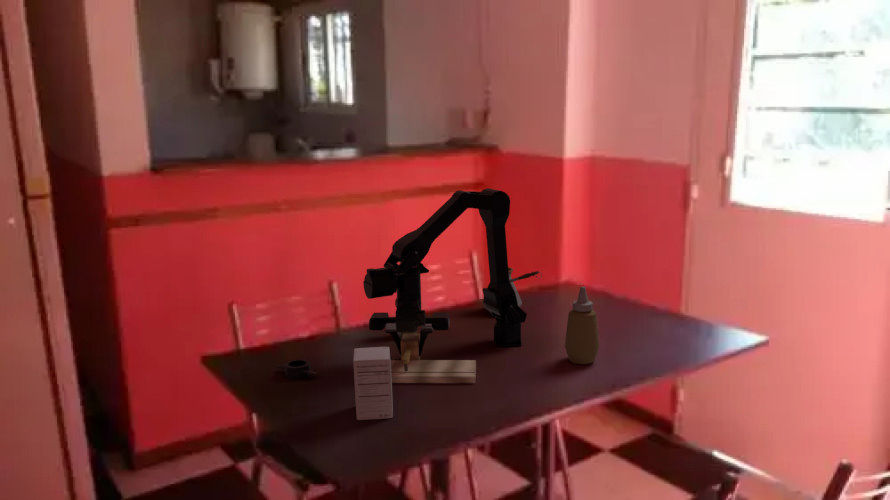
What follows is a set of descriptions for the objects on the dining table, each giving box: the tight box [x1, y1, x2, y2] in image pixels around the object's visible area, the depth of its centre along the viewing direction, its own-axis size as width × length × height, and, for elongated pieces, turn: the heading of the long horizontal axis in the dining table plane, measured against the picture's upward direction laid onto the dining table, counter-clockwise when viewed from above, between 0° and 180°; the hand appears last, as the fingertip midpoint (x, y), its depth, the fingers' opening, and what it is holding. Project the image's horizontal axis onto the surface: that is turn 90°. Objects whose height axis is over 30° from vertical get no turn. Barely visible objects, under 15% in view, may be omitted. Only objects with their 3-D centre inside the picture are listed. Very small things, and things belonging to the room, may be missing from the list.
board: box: [390, 359, 477, 384], centre depth 165 cm, size 22×10×2 cm, turn 86°
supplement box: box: [352, 346, 394, 421], centre depth 145 cm, size 7×7×13 cm
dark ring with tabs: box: [277, 358, 319, 380], centre depth 167 cm, size 8×10×3 cm
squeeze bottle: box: [564, 286, 600, 365], centre depth 170 cm, size 8×8×18 cm
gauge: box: [400, 333, 421, 371], centre depth 168 cm, size 4×15×6 cm, turn 177°
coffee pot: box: [482, 266, 543, 315], centre depth 206 cm, size 21×12×15 cm, turn 37°
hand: (410, 355), depth 173 cm, fingers closed on gauge, 4 cm apart
